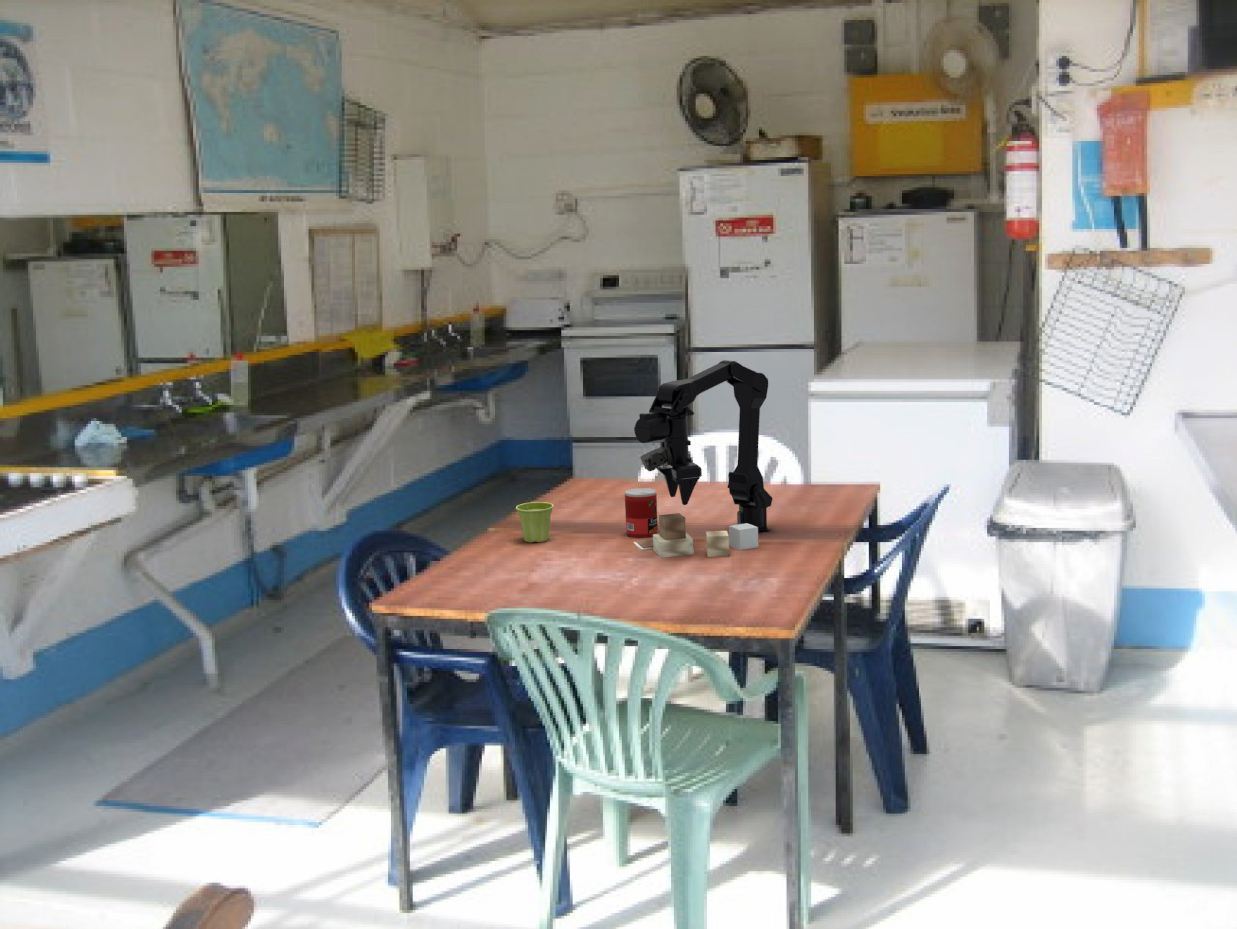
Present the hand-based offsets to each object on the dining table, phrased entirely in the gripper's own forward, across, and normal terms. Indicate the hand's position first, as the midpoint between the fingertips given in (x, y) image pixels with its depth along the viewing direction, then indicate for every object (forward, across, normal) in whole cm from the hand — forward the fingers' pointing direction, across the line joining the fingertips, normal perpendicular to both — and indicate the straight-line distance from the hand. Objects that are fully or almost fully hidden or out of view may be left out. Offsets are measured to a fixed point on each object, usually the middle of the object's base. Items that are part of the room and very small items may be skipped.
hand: (678, 500), depth 316 cm
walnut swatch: (+11, -5, -6) cm, 14 cm away
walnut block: (+8, +3, -3) cm, 9 cm away
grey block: (+12, +5, +14) cm, 19 cm away
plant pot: (+11, -22, -31) cm, 40 cm away
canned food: (+12, -17, -5) cm, 21 cm away
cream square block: (+12, +3, -3) cm, 13 cm away
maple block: (+12, +9, +6) cm, 16 cm away
